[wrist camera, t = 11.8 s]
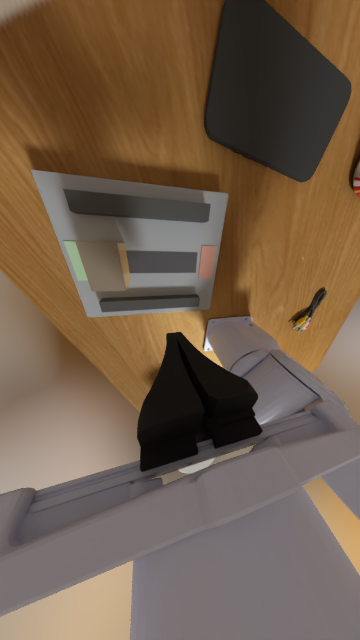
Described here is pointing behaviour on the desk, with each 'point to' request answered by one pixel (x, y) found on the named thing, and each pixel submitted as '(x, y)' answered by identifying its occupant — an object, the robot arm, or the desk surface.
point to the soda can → (357, 179)
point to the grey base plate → (139, 240)
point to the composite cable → (309, 312)
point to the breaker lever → (105, 265)
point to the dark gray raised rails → (145, 210)
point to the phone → (272, 91)
